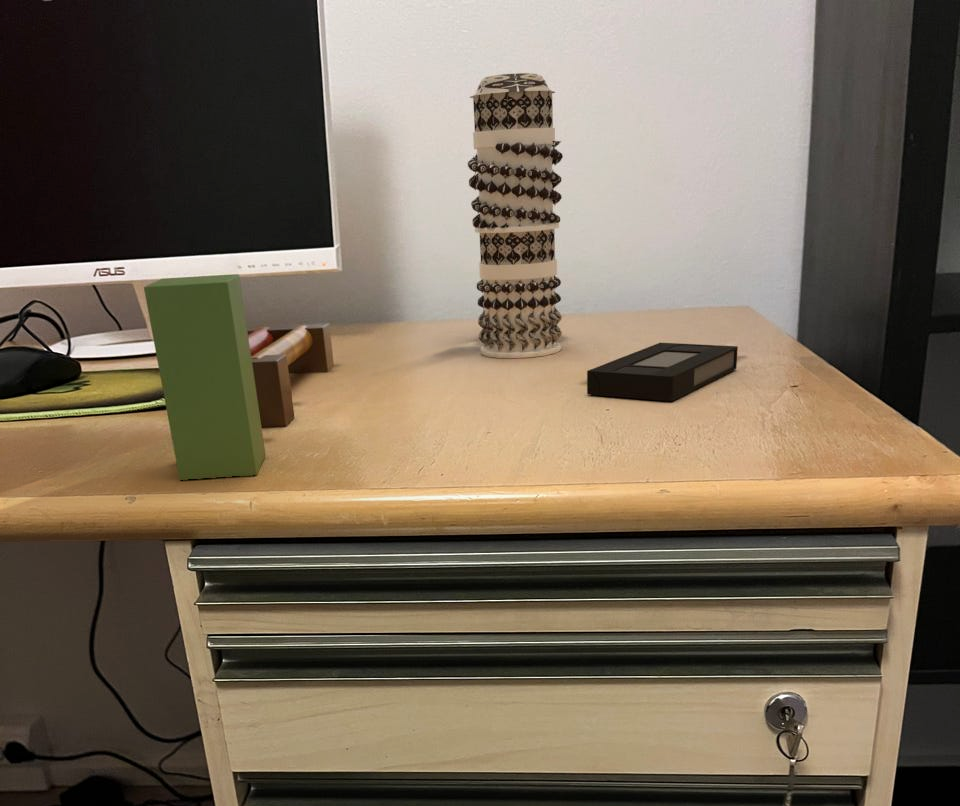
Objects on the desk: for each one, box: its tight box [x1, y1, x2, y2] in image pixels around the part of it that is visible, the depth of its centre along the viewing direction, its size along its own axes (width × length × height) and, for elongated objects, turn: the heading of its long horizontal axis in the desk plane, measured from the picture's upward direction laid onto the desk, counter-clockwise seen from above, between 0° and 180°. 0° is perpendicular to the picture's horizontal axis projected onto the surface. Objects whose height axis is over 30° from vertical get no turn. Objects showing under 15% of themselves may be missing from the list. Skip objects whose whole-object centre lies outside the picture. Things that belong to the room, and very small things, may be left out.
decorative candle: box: [467, 72, 564, 359], centre depth 97 cm, size 9×9×25 cm
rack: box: [247, 322, 335, 428], centre depth 85 cm, size 8×20×5 cm, turn 177°
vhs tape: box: [586, 342, 739, 402], centre depth 84 cm, size 8×14×2 cm, turn 146°
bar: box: [143, 273, 266, 481], centre depth 64 cm, size 5×5×12 cm
